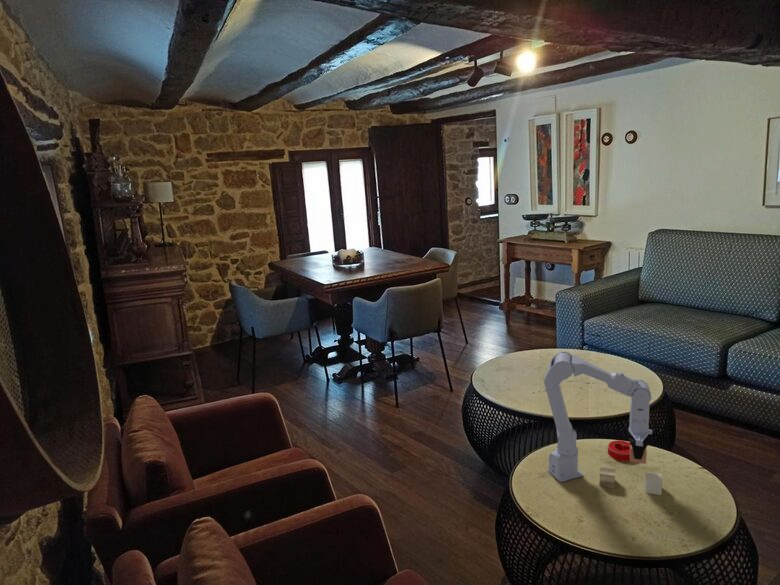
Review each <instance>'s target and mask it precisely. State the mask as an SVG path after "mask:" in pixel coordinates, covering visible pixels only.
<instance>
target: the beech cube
mask: <svg viewBox="0 0 780 585" xmlns="http://www.w3.org/2000/svg"><path fill="white" fill-rule="evenodd" d="M598 481H599V482H598V484H599V485H598V486H600V487H605V486H607V487H606V488H611V487H615V486H616V467H612V466H605V465H599V480H598Z"/></svg>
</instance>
